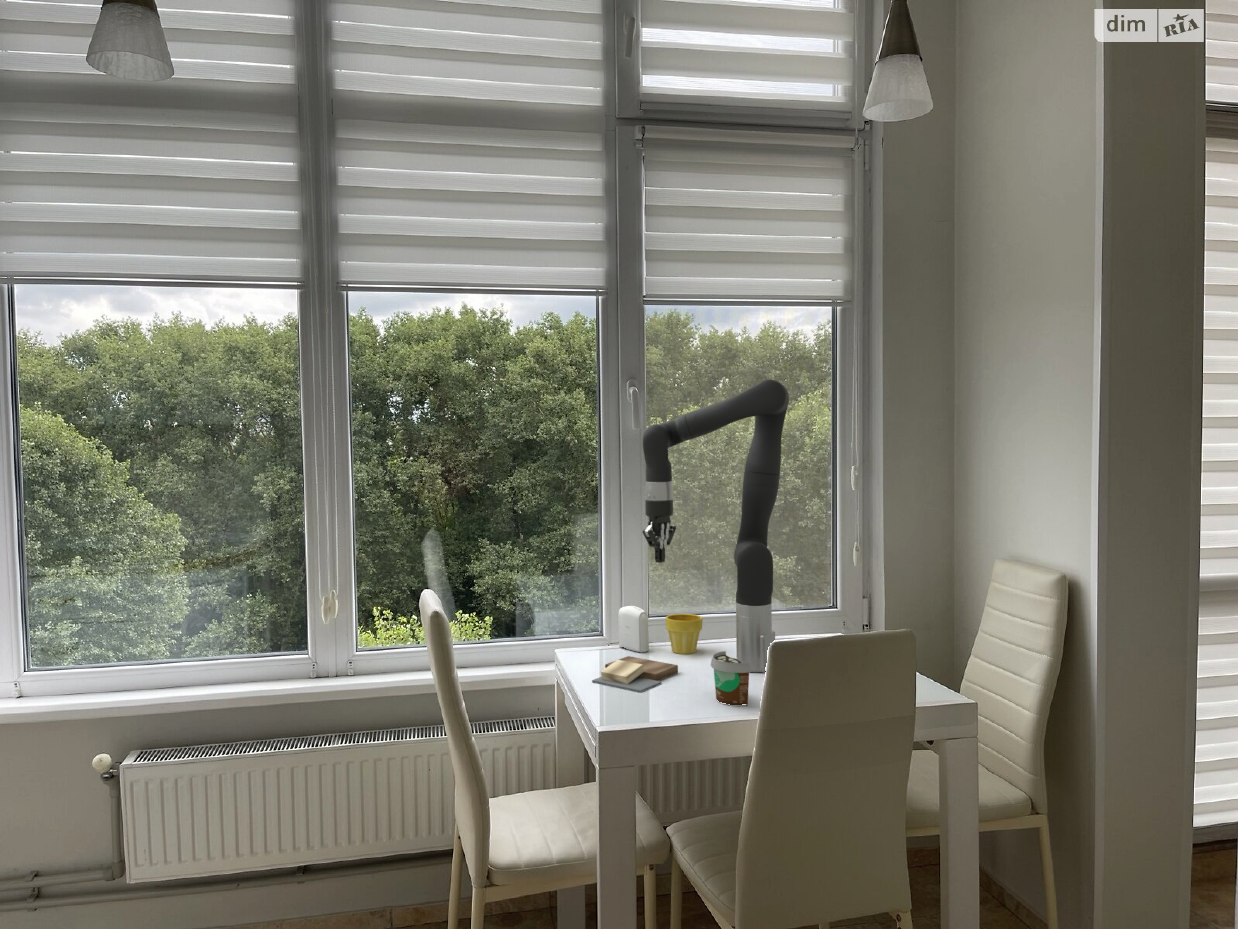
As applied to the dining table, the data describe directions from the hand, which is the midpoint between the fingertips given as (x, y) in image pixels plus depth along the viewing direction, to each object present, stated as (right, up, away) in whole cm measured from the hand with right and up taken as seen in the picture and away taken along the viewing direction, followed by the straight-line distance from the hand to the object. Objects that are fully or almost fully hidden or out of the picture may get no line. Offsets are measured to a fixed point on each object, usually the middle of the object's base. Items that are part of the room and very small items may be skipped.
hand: (660, 562), depth 232 cm
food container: (+13, -28, -34) cm, 47 cm away
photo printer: (-7, -27, +14) cm, 31 cm away
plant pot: (+7, -27, +11) cm, 30 cm away
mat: (-9, -28, -19) cm, 35 cm away
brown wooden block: (-5, -28, -10) cm, 30 cm away
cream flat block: (-10, -27, -17) cm, 33 cm away
